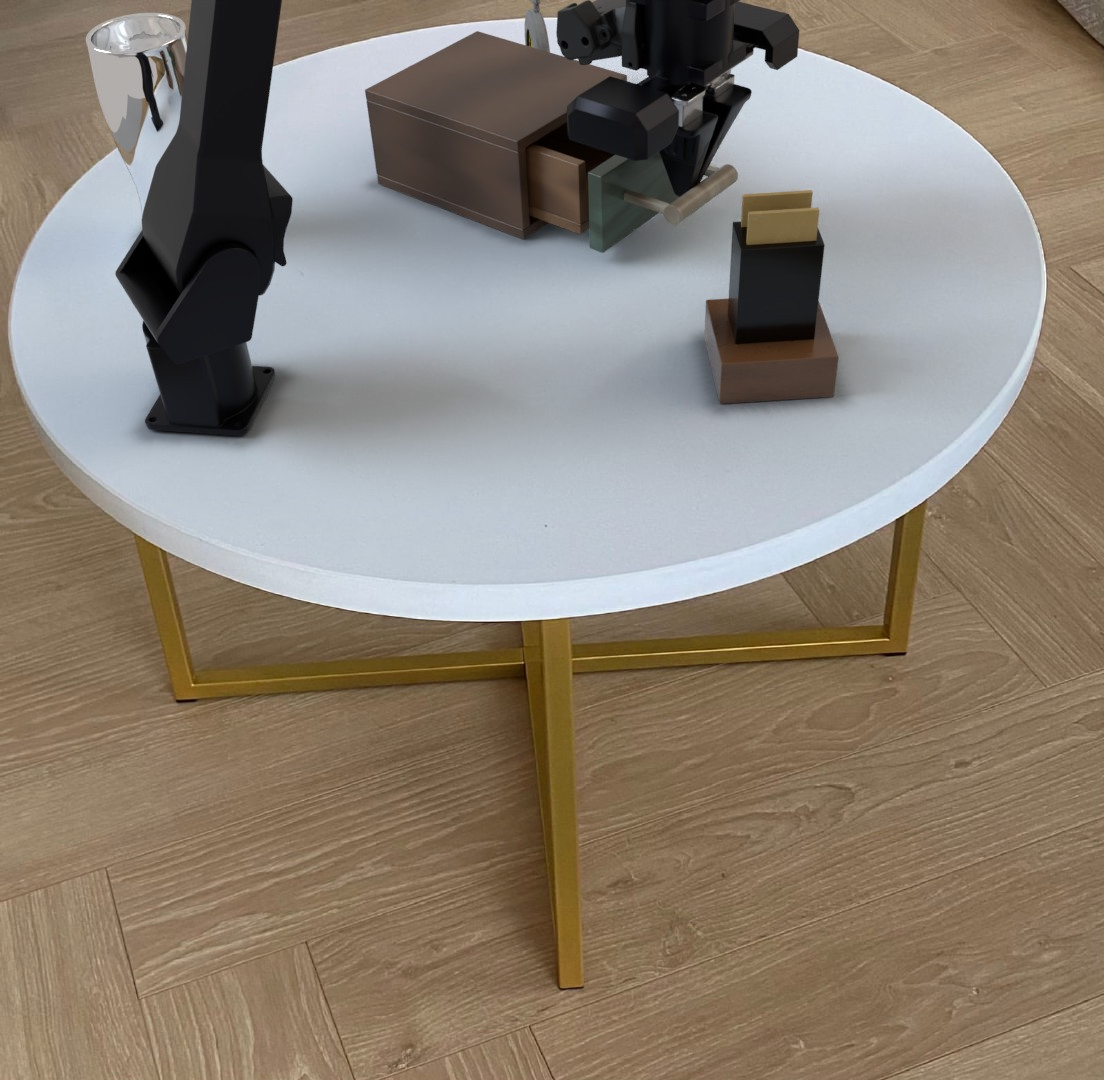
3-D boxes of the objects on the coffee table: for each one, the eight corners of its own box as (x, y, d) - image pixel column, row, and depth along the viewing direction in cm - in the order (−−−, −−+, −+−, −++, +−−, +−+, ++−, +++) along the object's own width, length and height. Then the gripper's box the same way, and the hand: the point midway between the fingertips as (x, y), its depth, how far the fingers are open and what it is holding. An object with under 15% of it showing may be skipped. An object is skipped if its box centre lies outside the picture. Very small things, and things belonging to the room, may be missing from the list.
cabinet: (627, 170, 104) (627, 74, 99) (523, 240, 97) (517, 141, 92) (484, 121, 111) (477, 30, 106) (377, 184, 104) (364, 89, 99)
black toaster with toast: (814, 339, 82) (828, 213, 76) (735, 344, 82) (742, 218, 76) (804, 309, 84) (817, 185, 78) (727, 315, 84) (734, 190, 78)
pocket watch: (636, 94, 114) (636, -27, 107) (565, 129, 110) (561, 6, 103) (568, 67, 118) (564, -51, 112) (497, 100, 114) (488, -21, 107)
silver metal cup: (212, 260, 97) (163, 56, 87) (122, 253, 98) (63, 51, 88) (247, 211, 102) (204, 12, 92) (161, 205, 103) (109, 9, 93)
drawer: (752, 205, 98) (757, 130, 94) (660, 275, 92) (662, 197, 88) (553, 139, 107) (550, 67, 103) (457, 198, 100) (450, 125, 97)
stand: (834, 397, 82) (839, 356, 80) (719, 404, 82) (721, 364, 80) (812, 332, 88) (816, 292, 86) (704, 338, 88) (705, 299, 86)
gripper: (669, -102, 92) (665, 114, 103) (492, -12, 82) (509, 218, 93) (812, -72, 87) (793, 153, 98) (642, 29, 77) (641, 268, 87)
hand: (684, 194), depth 94 cm, fingers closed, pressing on drawer
